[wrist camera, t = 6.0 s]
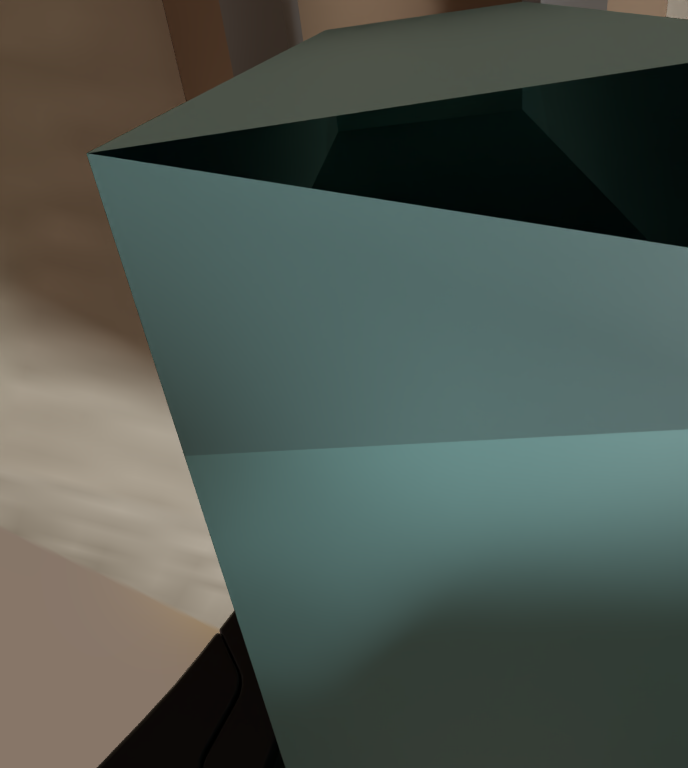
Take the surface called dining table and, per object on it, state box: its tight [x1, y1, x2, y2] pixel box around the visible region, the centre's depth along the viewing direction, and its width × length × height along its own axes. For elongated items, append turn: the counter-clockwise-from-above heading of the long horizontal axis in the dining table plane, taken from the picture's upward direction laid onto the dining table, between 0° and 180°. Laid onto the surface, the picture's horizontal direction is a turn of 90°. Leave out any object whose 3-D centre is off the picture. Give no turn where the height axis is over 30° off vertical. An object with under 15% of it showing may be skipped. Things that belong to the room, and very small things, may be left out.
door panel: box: [87, 2, 688, 768], centre depth 8 cm, size 12×2×7 cm, turn 7°
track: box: [162, 0, 668, 102], centre depth 14 cm, size 9×15×3 cm, turn 7°
